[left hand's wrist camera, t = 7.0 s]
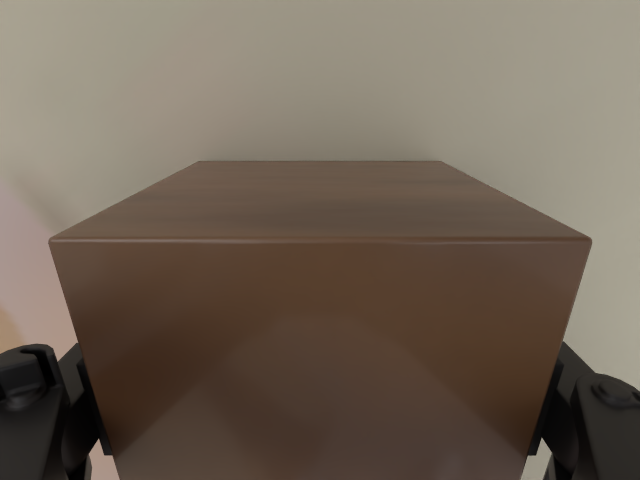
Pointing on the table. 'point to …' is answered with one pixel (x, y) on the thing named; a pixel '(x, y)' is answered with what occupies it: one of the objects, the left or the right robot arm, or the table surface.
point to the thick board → (320, 321)
